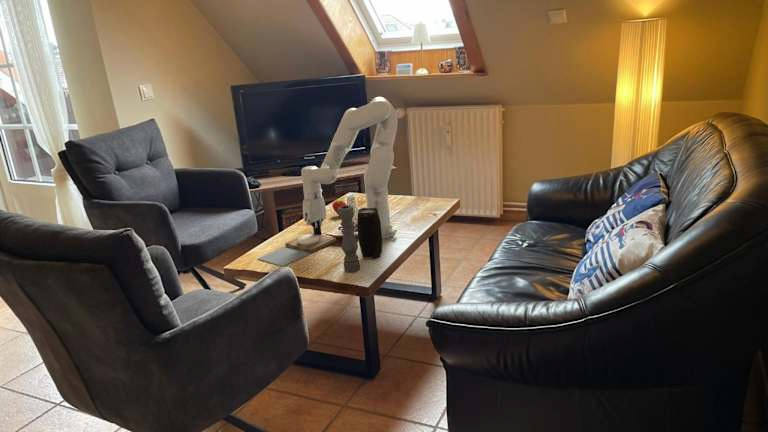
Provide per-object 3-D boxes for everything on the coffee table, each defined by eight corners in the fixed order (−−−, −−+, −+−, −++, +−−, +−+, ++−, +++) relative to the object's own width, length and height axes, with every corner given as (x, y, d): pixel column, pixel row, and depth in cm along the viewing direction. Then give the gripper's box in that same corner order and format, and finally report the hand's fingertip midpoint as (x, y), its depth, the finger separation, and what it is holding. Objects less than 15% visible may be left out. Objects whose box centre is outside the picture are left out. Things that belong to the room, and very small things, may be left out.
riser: (336, 241, 242) (335, 238, 242) (311, 253, 232) (310, 249, 231) (310, 236, 252) (310, 232, 252) (285, 247, 242) (285, 243, 241)
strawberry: (337, 213, 282) (335, 194, 279) (350, 214, 278) (347, 195, 275) (330, 217, 277) (328, 197, 274) (343, 218, 273) (341, 199, 270)
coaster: (323, 239, 241) (323, 235, 241) (308, 246, 235) (308, 242, 234) (309, 236, 247) (308, 232, 246) (294, 243, 240) (293, 239, 239)
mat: (310, 254, 231) (310, 253, 231) (282, 266, 220) (282, 265, 220) (285, 247, 241) (284, 246, 241) (257, 259, 230) (257, 258, 230)
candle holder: (344, 267, 215) (337, 205, 207) (360, 265, 215) (353, 204, 207) (344, 273, 209) (337, 210, 201) (360, 272, 209) (354, 208, 202)
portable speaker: (358, 254, 226) (353, 208, 220) (380, 250, 228) (376, 205, 222) (363, 262, 218) (358, 214, 212) (386, 257, 220) (381, 211, 214)
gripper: (319, 189, 247) (324, 228, 252) (294, 198, 236) (299, 238, 242) (331, 191, 242) (335, 231, 248) (306, 200, 231) (311, 241, 237)
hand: (317, 234), depth 245 cm, fingers closed
